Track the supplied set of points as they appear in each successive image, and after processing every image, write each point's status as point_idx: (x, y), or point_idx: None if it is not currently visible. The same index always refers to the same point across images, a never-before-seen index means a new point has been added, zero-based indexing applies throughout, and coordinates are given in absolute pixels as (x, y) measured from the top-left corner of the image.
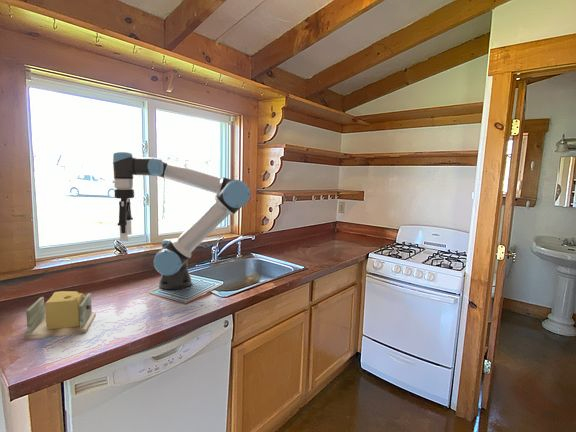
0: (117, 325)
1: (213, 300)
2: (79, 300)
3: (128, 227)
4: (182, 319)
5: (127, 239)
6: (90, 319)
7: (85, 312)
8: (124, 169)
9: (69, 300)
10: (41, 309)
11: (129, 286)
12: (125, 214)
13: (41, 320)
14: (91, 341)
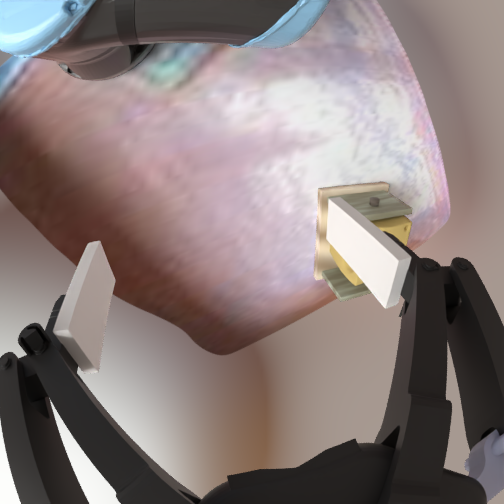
0: (373, 133)
1: None
2: (403, 221)
3: (95, 295)
4: (374, 13)
5: (343, 200)
6: (355, 189)
7: (382, 200)
8: None
9: (407, 236)
10: (345, 281)
11: (109, 172)
12: (501, 322)
13: (338, 269)
14: (410, 165)
